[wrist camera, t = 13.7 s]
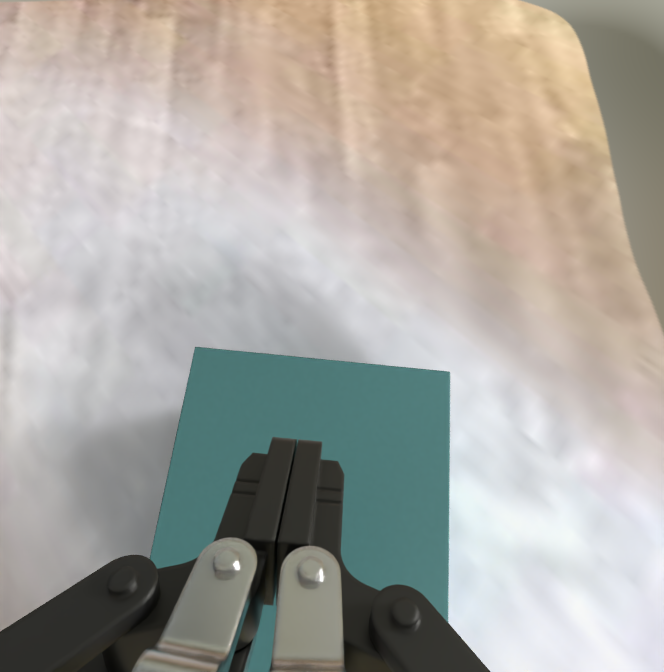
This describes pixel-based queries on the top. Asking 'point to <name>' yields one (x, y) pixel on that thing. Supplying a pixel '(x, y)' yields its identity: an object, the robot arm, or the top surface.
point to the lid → (337, 445)
